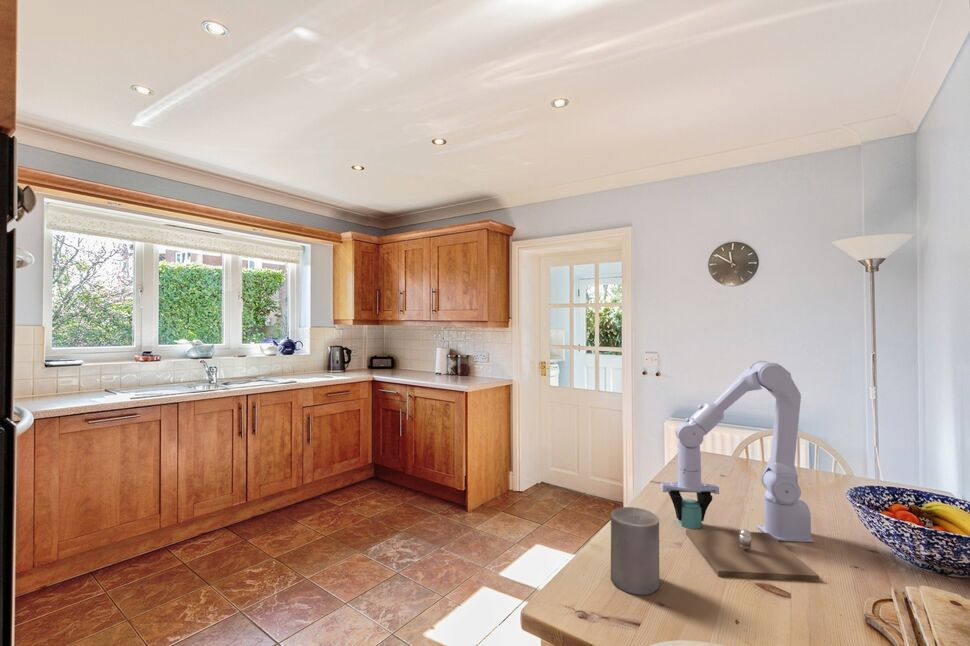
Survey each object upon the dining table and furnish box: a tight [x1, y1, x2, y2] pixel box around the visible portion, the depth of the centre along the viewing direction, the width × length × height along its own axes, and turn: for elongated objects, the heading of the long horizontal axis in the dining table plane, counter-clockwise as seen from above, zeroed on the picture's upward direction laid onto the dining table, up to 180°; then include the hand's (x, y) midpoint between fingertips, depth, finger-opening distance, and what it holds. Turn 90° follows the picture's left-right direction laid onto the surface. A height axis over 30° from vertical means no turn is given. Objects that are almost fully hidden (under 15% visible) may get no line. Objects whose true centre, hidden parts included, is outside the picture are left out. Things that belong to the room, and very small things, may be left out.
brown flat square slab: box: [685, 528, 820, 582], centre depth 104 cm, size 20×20×1 cm
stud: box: [738, 528, 751, 550], centre depth 104 cm, size 2×2×5 cm
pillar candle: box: [610, 506, 661, 596], centre depth 93 cm, size 10×10×15 cm
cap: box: [678, 498, 703, 530], centre depth 121 cm, size 5×6×6 cm
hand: (689, 519), depth 121 cm, fingers closed on cap, 5 cm apart
